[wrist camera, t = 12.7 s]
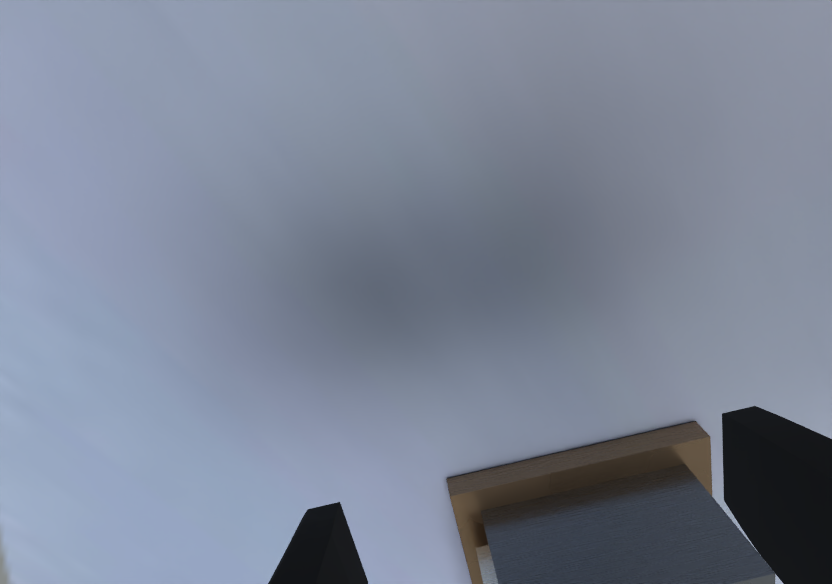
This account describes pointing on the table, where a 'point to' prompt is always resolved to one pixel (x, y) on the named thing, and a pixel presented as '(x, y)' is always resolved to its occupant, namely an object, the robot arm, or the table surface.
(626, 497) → the mounted unit
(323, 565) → the robot arm
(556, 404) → the table surface
